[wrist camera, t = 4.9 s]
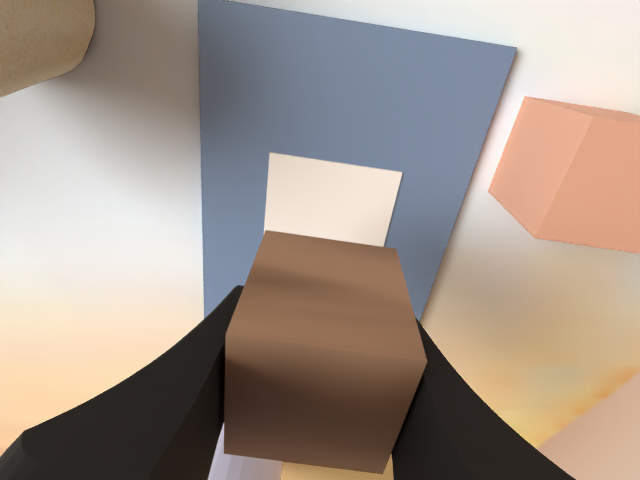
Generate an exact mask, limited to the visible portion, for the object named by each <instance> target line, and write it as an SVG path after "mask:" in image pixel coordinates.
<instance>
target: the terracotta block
mask: <svg viewBox="0 0 640 480" xmlns="http://www.w3.org/2000/svg"><path fill="white" fill-rule="evenodd" d="M488 192H489V193H490V194H491V195H492V196H493V197H494V198H495V199H496V200H497V201H498V202H499V203H500V204H501V205H502V206H503V207H504V208H505V209H506V210H507V211H508V212H509V213H510V214H511V215H512V216H513V217H514V218H515V219H516V220H517V221H518V222H519V223H520V224H521V225H522V226H523V227H524V228H525V229H526V230H527V231H528V232H529V233H530V234H531V235H532V236H533V237H534V238H538V239H545V240H551V241H558V242H565V243H572V244H579V245H585V246H592V247H599V248H606V249H613V250H619V251H626V252H633V253H640V116H638V115H634V114H630V113H626V112H621V111H615V110H608V109H602V108H596V107H589V106H583V105H577V104H570V103H564V102H558V101H551V100H545V99H539V98H532V97H526V96H525V97H524V99H523V102H522V105H521V107H520V110H519V112H518V115H517V118H516V120H515V123H514V125H513V128H512V130H511V133H510V136H509V138H508V141H507V143H506V146H505V148H504V151H503V154H502V156H501V159H500V161H499V164H498V166H497V169H496V172H495V174H494V177H493V179H492V182H491V184H490V187H489V190H488Z"/></svg>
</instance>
